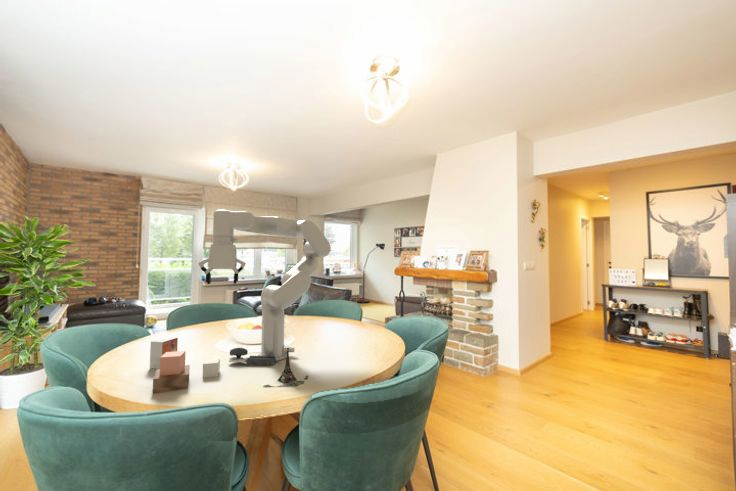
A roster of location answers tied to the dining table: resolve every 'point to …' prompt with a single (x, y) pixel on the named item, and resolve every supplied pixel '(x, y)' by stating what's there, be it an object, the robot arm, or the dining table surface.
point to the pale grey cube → (211, 367)
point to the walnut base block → (170, 381)
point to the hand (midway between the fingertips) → (222, 283)
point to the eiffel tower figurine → (288, 376)
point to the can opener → (251, 358)
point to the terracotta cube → (172, 363)
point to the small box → (161, 350)
